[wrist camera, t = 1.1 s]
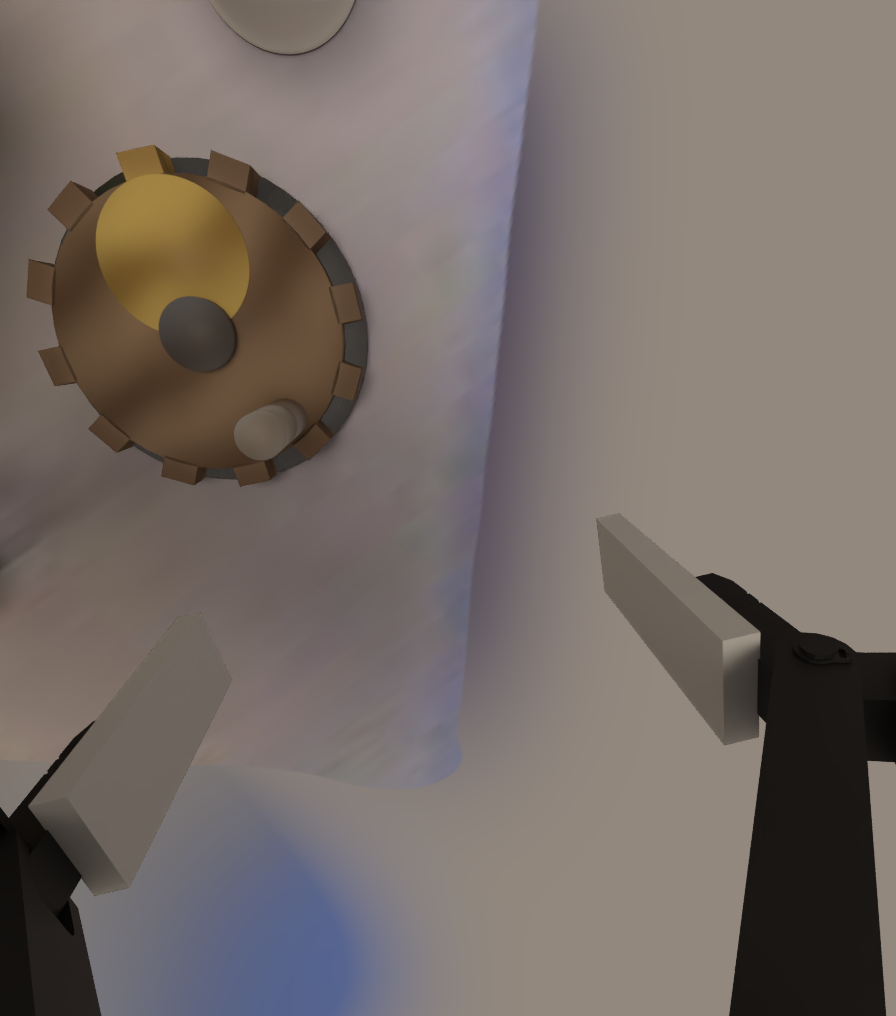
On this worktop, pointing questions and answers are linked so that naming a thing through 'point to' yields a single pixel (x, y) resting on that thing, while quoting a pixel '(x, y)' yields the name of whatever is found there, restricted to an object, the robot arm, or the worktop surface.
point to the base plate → (338, 276)
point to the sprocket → (197, 317)
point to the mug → (284, 22)
